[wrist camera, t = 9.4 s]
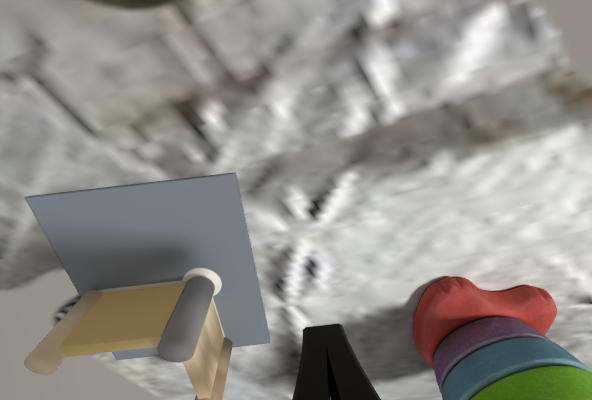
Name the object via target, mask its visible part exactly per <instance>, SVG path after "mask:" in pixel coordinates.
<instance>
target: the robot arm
mask: <svg viewBox="0 0 592 400" xmlns="http://www.w3.org/2000/svg"><path fill="white" fill-rule="evenodd" d="M330 396H331V400H381V399H380V397H379V396H378V394H377V393H376V391H375V389H374V388H373V386H372V384H371V383H370V381H369V379H368V377H367V376H366V374H365V372H364V371H363V369H362V367H361V365H360V363H359V362H358V360H357V358H356V356H355V354H354V352H353V350H352V348H351V346H350V344H349V342H348V339H347V337H346V335H345V332H344V330H343V327H342V325H340V324H331V325H322V326H313V327H306V328H305V329H303V344H302V353H301V360H300V366H299V372H298V376H297V381H296V386H295V391H294V395H293V399H292V400H330Z"/></svg>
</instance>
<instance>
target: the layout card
mask: <svg viewBox="0 0 592 400" xmlns="http://www.w3.org/2000/svg"><path fill="white" fill-rule="evenodd" d="M25 199H26V201H27V203H28V205H29V206H30V208H31V210H32V212H33V213H34V215H35V217H36V219H37V221H38V222H39V224H40V226H41V228H42V229H43V231H44V233H45V235H46V236H47V238H48V240H49V242H50V243H51V245H52V247H53V249H54V251H55V252H56V254H57V256H58V258H59V259H60V261H61V263H62V265H63V266H64V268H65V270H66V272H67V273H68V275H69V277H70V279H71V281H72V282H73V284H74V286H75V288H76V289H77V291H78V293H79V295H80V296H81V297H82V296H83V295H84V294H85V293H86V292H87V291H90V290H97V291H100V292H102V293H111V292H120V291H130V290H139V289H148V288H157V287H166V286H175V285H184V284H187V282H188V280H189V279H191V278H192V277H195V276H203V277H206V278H208V279H210V280H211V281H212V282H213V283H214V285H215V290H214V294H213V297H212V299H213V302H214V306H215V309H216V312H217V315H218V319H219V322H220V325H221V329H222V332H223V335H224V337H226V338H228V339H230V340H231V341H232V347H239V346H248V345H257V344H266V343H270V336H269V331H268V326H267V321H266V317H265V312H264V307H263V302H262V297H261V292H260V288H259V283H258V278H257V273H256V268H255V263H254V259H253V254H252V249H251V244H250V239H249V235H248V230H247V225H246V220H245V215H244V210H243V206H242V201H241V196H240V191H239V186H238V182H237V177H236V173H228V174H220V175H211V176H202V177H193V178H185V179H176V180H167V181H158V182H150V183H141V184H132V185H123V186H115V187H106V188H97V189H89V190H80V191H71V192H62V193H54V194H45V195H36V196H29V197H26V198H25ZM112 353H113V355H114V356H115V358H116V360H122V359H131V358H140V357H149V356H158V355H160V354H159V353H158V350H157V347H151V348H142V349H133V350H124V351H115V352H112Z"/></svg>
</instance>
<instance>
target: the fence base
mask: <svg viewBox="0 0 592 400" xmlns="http://www.w3.org/2000/svg"><path fill="white" fill-rule="evenodd" d="M231 350H232V341H231V340H230V339H228V338H226V337H224V335H223V332H222V329H221V325H220V322H219V319H218V315H217V312H216V309H215V306H214V302H213V299H212V300H211V303H210V306H209V309H208V312H207V315H206V319H205V322H204V325H203V328H202V331H201V334H200V337H199V340H198V344H197V347H196V350H195V353H194V355H193V357H192V358H191V359H190V360H188V361H185V362H183V364H184V366H185V369H186V371H187V374H188V376H189V378H190V381H191V383H192V385H193V388H194V390H195V393H196V398H195V400H222V398H223V393H224V387H225V382H226V377H227V371H228V366H229V361H230V355H231Z"/></svg>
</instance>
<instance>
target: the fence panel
mask: <svg viewBox="0 0 592 400" xmlns="http://www.w3.org/2000/svg"><path fill="white" fill-rule="evenodd" d="M214 290H215V285H214V283H213V282H212V281H211V280H210V279H208V278H206V277H203V276H195V277H192V278H191V279H189V280H188V282H187V284H184V285H175V286H166V287H157V288H148V289H139V290H130V291H120V292H111V293H102V292H100V291H97V290H90V291H87V292H86V293H85V294H84V295H83V296H82V297H81V298H80V300H79V301H78V302H77V303H76V304H75V305H74V306H73V307H72V308H71V309H70V311H69V312H68V313H67V314H66V315H65V316H64V317H63V318H62V319H61V320H60V322H59V323H58V324H57V325H56V326H55V327H54V328H53V329H52V330H51V332H49V334H48V335H47V336H46V337H45V338H44V339H43V340H42V341H41V342H40V343H39V345H38V346H37V347H36V348H35V349H34V350H33V351H32V352H31V353H30V354H29V356H28V357H27V358H26V359H25V361H24V364H25V366H26V367H27V368H28V369H29V370H31V371H32V372H34V373H37V374H45V375H46V374H51V373H53V372H54V371H55V370H56V369H57V367H58V366H59V365H60V364H61V362H62V361H63V359H65V357H69V356H78V355H87V354H96V353H105V352H115V351H124V350H133V349H142V348H151V347H157V350H158V353H159V354H160V356H161V357H163V358H164V359H166V360H168V361H171V362H185V361H188V360H190V359H191V358H192V357H193V355H194V353H195V350H196V347H197V344H198V340H199V337H200V334H201V331H202V328H203V325H204V322H205V319H206V315H207V312H208V309H209V306H210V303H211V300H212V297H213V294H214Z"/></svg>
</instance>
